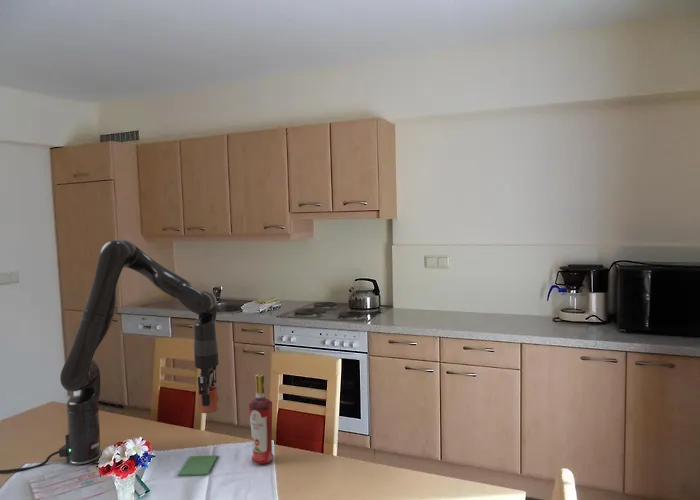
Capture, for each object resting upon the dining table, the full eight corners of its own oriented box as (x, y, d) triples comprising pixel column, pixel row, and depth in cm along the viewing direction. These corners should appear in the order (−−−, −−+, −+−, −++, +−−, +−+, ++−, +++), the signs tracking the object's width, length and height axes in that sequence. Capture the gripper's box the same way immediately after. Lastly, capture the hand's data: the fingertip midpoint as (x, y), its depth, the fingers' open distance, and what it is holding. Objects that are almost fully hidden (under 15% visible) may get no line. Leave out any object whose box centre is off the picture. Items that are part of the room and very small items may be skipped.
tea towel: (178, 476, 152) (178, 474, 152) (190, 458, 164) (190, 456, 164) (207, 475, 152) (207, 473, 152) (217, 457, 164) (217, 455, 164)
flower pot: (197, 413, 161) (195, 392, 161) (202, 406, 167) (201, 386, 167) (216, 412, 161) (215, 391, 161) (220, 406, 167) (219, 385, 167)
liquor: (246, 464, 158) (243, 377, 157) (258, 454, 165) (255, 371, 163) (267, 468, 155) (263, 379, 154) (278, 457, 162) (275, 373, 161)
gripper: (200, 347, 170) (203, 395, 171) (188, 358, 156) (190, 410, 157) (222, 346, 171) (225, 394, 171) (211, 357, 156) (214, 409, 157)
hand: (208, 401), depth 164 cm, fingers closed on flower pot, 6 cm apart
